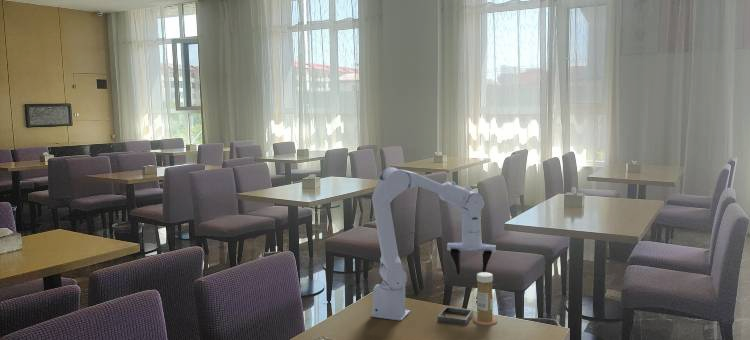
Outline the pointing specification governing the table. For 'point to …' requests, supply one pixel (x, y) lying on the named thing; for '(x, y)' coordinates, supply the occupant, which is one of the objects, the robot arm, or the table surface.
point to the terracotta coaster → (484, 321)
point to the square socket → (455, 320)
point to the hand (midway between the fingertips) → (471, 273)
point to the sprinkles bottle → (484, 296)
